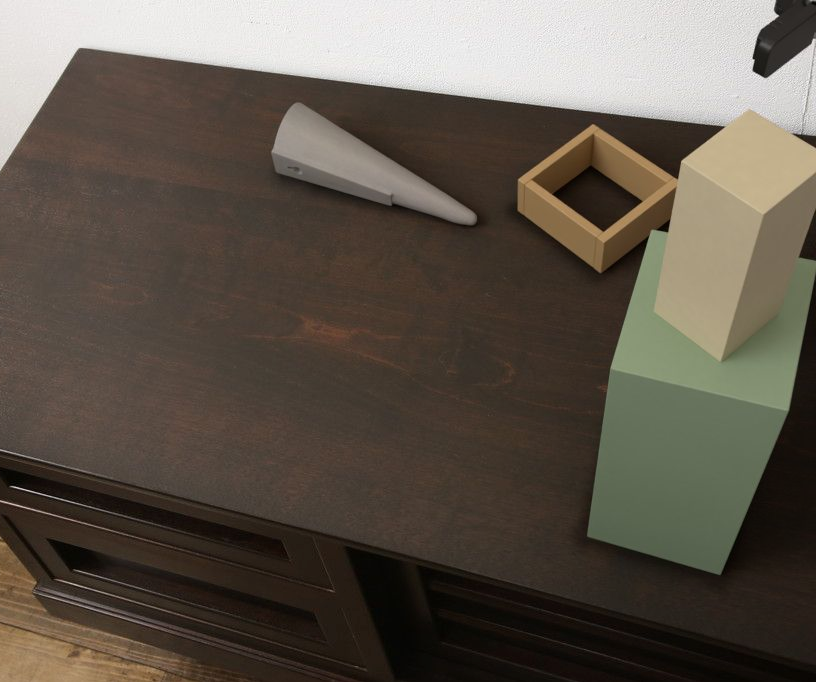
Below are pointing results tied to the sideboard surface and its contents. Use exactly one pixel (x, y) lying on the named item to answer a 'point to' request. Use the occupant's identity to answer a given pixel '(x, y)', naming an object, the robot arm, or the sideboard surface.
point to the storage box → (617, 166)
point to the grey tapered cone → (354, 167)
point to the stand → (690, 426)
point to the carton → (736, 232)
